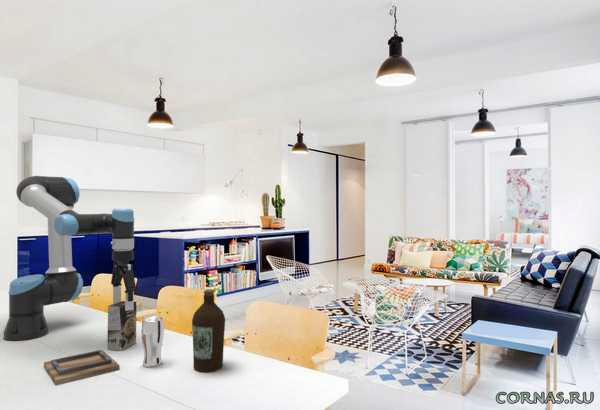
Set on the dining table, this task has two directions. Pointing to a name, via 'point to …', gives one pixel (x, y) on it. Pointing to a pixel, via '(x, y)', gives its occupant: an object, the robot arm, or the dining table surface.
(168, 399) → the dining table surface
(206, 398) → the dining table surface
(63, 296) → the robot arm
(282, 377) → the dining table surface
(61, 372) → the pocket board
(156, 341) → the beer glass
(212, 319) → the olive oil
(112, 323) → the coffee box
